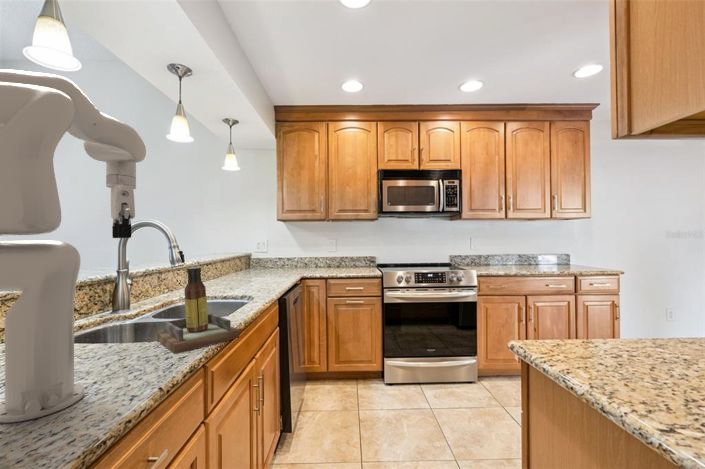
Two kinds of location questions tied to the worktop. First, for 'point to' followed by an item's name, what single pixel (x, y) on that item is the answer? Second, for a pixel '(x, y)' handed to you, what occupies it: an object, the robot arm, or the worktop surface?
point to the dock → (196, 334)
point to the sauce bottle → (195, 302)
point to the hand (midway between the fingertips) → (121, 237)
